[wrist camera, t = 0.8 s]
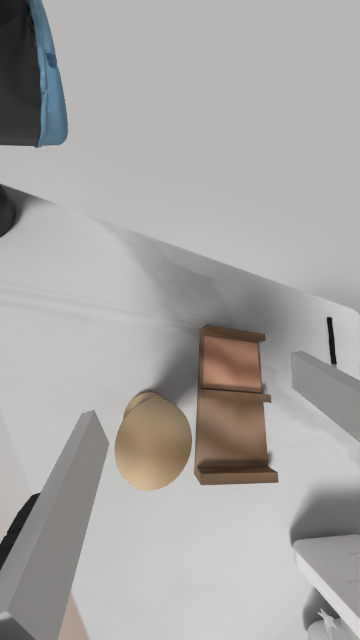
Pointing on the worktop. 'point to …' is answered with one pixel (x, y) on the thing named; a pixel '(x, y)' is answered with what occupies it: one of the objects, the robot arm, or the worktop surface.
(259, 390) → the slot cradle
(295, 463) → the worktop surface
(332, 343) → the black pen
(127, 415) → the cord spool
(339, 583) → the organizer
